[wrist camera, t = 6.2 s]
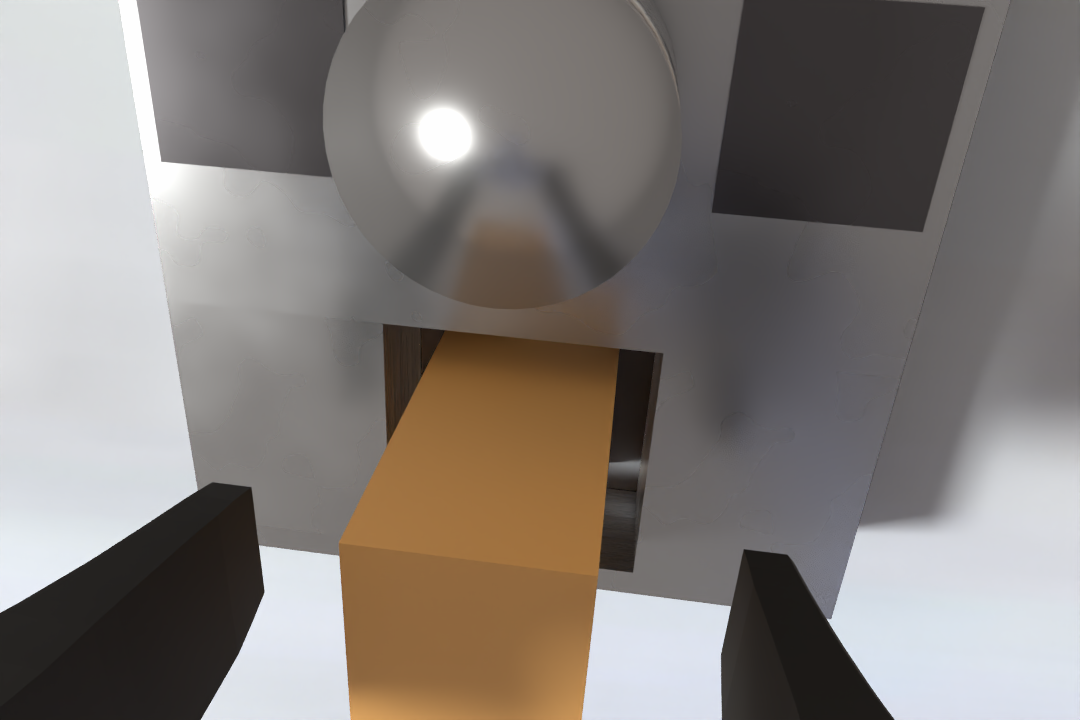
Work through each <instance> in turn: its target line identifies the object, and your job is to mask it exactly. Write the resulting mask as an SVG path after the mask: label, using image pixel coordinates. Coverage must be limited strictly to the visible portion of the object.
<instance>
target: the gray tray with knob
mask: <svg viewBox="0 0 1080 720" xmlns="http://www.w3.org/2000/svg"><path fill="white" fill-rule="evenodd" d="M1010 1H1011V0H119V7H120V13H121V19H122V25H123V31H124V37H125V43H126V50H127V56H128V62H129V68H130V74H131V80H132V87H133V93H134V99H135V105H136V111H137V117H138V124H139V130H140V136H141V142H142V148H143V154H144V161H145V167H146V173H147V179H148V185H149V191H150V198H151V204H152V210H153V216H154V222H155V228H156V234H157V241H158V247H159V253H160V259H161V265H162V271H163V278H164V284H165V290H166V296H167V302H168V308H169V315H170V321H171V327H172V333H173V339H174V345H175V352H176V358H177V364H178V370H179V376H180V382H181V389H182V395H183V401H184V407H185V413H186V419H187V426H188V432H189V438H190V444H191V450H192V456H193V462H194V469H195V475H196V481H197V487H198V490H200V489H202V488H203V487H205V486H207V485H208V484H210V483H212V482H216V483H224V484H231V485H239V486H247V487H252V495H253V503H254V511H255V519H256V527H257V535H258V543H259V545H261V546H269V547H277V548H284V549H292V550H300V551H308V552H315V553H323V554H331V555H339V541H340V539H341V537H342V535H343V533H344V531H345V529H346V527H347V525H348V523H349V521H350V519H351V517H352V515H353V513H354V511H355V509H356V507H357V505H358V503H359V501H360V499H361V497H362V495H363V493H364V491H365V489H366V487H367V485H368V483H369V481H370V479H371V477H372V475H373V473H374V471H375V469H376V467H377V465H378V463H379V461H380V459H381V457H382V455H383V453H384V451H385V449H386V447H387V445H388V443H389V441H390V439H391V437H392V435H393V433H394V431H395V429H396V427H397V425H398V423H399V421H400V419H401V417H402V415H403V413H404V411H405V409H406V407H407V405H408V403H409V401H410V399H411V397H412V395H413V393H414V391H415V389H416V387H417V385H418V383H419V381H420V379H421V328H429V329H439V330H448V331H458V332H467V333H476V334H486V335H495V336H505V337H514V338H524V339H533V340H542V341H552V342H561V343H571V344H580V345H590V346H599V347H608V348H618V349H627V350H637V351H646V352H655V358H654V366H653V373H652V381H651V388H650V396H649V403H648V411H647V418H646V425H645V433H644V440H643V448H642V455H641V463H640V470H639V478H638V485H637V492H633V491H625V490H617V489H608V488H606V497H605V508H604V518H603V529H602V540H601V550H600V561H599V572H598V581H597V589H602V590H610V591H618V592H625V593H633V594H641V595H649V596H656V597H664V598H672V599H680V600H687V601H695V602H703V603H711V604H718V605H726V606H732V601H733V597H734V592H735V587H736V583H737V578H738V573H739V568H740V564H741V559H742V554H743V550H744V549H747V550H755V551H763V552H771V553H779V554H787V555H788V556H789V557H790V558H791V559H792V561H793V562H794V563H795V565H796V567H797V569H798V571H799V573H800V574H801V576H802V578H803V580H804V582H805V583H806V585H807V587H808V589H809V590H810V592H811V594H812V596H813V597H814V599H815V601H816V602H817V604H818V606H819V608H820V609H821V611H822V613H823V614H824V616H825V617H826V618H827V619H831V618H832V614H833V611H834V607H835V604H836V601H837V597H838V594H839V590H840V587H841V583H842V580H843V576H844V573H845V570H846V566H847V563H848V559H849V556H850V552H851V549H852V545H853V542H854V539H855V535H856V532H857V528H858V525H859V521H860V518H861V515H862V511H863V508H864V504H865V501H866V497H867V494H868V490H869V487H870V484H871V480H872V477H873V473H874V470H875V466H876V463H877V459H878V456H879V453H880V449H881V446H882V442H883V439H884V435H885V432H886V428H887V425H888V422H889V418H890V415H891V411H892V408H893V404H894V401H895V397H896V394H897V391H898V387H899V384H900V380H901V377H902V373H903V370H904V366H905V363H906V360H907V356H908V353H909V349H910V346H911V342H912V339H913V335H914V332H915V329H916V325H917V322H918V318H919V315H920V311H921V308H922V304H923V301H924V298H925V294H926V291H927V287H928V284H929V280H930V277H931V273H932V270H933V267H934V263H935V260H936V256H937V253H938V249H939V246H940V243H941V239H942V236H943V232H944V229H945V225H946V222H947V218H948V215H949V212H950V208H951V205H952V201H953V198H954V194H955V191H956V187H957V184H958V181H959V177H960V174H961V170H962V167H963V163H964V160H965V156H966V153H967V150H968V146H969V143H970V139H971V136H972V132H973V129H974V125H975V122H976V119H977V115H978V112H979V108H980V105H981V101H982V98H983V94H984V91H985V88H986V84H987V81H988V77H989V74H990V70H991V67H992V63H993V60H994V57H995V53H996V50H997V46H998V43H999V39H1000V36H1001V32H1002V29H1003V26H1004V22H1005V19H1006V15H1007V12H1008V8H1009V5H1010Z"/></svg>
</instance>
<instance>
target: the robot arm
mask: <svg viewBox="0 0 1080 720" xmlns="http://www.w3.org/2000/svg"><path fill="white" fill-rule="evenodd" d="M263 595H264V584H263V576H262V568H261V560H260V552H259V543H258V535H257V527H256V519H255V511H254V503H253V495H252V487H247V486H239V485H231V484H224V483H216V482H212V483H210V484H208V485H207V486H205V487H203V488H202V489H200V490H198V491H197V492H195V493H194V494H192V495H190V496H189V497H187V498H186V499H184V500H183V501H181V502H180V503H178V504H177V505H175V506H174V507H172V508H170V509H169V510H167V511H166V512H164V513H163V514H161V515H160V516H158V517H157V518H155V519H154V520H152V521H151V522H149V523H148V524H146V525H145V526H143V527H142V528H140V529H139V530H137V531H136V532H134V533H132V534H131V535H129V536H128V537H126V538H125V539H123V540H122V541H120V542H118V543H117V544H115V545H114V546H112V547H111V548H109V549H108V550H106V551H104V552H103V553H101V554H100V555H98V556H97V557H95V558H94V559H92V560H90V561H89V562H87V563H86V564H84V565H82V566H80V567H79V568H77V569H75V570H74V571H72V572H70V573H69V574H67V575H65V576H63V577H62V578H60V579H58V580H57V581H55V582H53V583H52V584H50V585H48V586H47V587H45V588H43V589H41V590H40V591H38V592H36V593H35V594H33V595H31V596H30V597H28V598H26V599H25V600H23V601H21V602H19V603H18V604H16V605H14V606H12V607H10V608H8V609H7V610H5V611H3V612H1V613H0V720H201V718H202V716H203V715H204V713H205V711H206V709H207V708H208V706H209V704H210V703H211V701H212V699H213V697H214V696H215V694H216V692H217V691H218V689H219V687H220V685H221V684H222V682H223V680H224V678H225V677H226V675H227V673H228V672H229V670H230V668H231V666H232V664H233V663H234V661H235V659H236V657H237V656H238V654H239V652H240V649H241V647H242V645H243V642H244V640H245V638H246V636H247V633H248V631H249V629H250V627H251V624H252V622H253V619H254V617H255V614H256V612H257V609H258V607H259V604H260V602H261V599H262V597H263ZM721 693H722V720H894V718H893V717H892V716H891V714H890V713H889V712H888V710H887V709H886V708H885V706H884V705H883V704H882V702H881V701H880V699H879V698H878V697H877V695H876V694H875V692H874V691H873V689H872V688H871V687H870V685H869V684H868V682H867V681H866V679H865V678H864V676H863V675H862V673H861V672H860V670H859V669H858V667H857V666H856V664H855V663H854V661H853V660H852V658H851V657H850V655H849V654H848V652H847V651H846V649H845V648H844V646H843V645H842V643H841V642H840V640H839V639H838V637H837V635H836V634H835V632H834V631H833V629H832V627H831V626H830V624H829V622H828V621H827V619H826V617H825V616H824V614H823V613H822V611H821V609H820V608H819V606H818V604H817V602H816V601H815V599H814V597H813V596H812V594H811V592H810V590H809V589H808V587H807V585H806V583H805V582H804V580H803V578H802V576H801V574H800V573H799V571H798V569H797V567H796V565H795V563H794V562H793V561H792V559H791V558H790V557H789V556H788V555H787V554H779V553H771V552H763V551H755V550H747V549H744V550H743V554H742V559H741V564H740V568H739V573H738V578H737V583H736V587H735V592H734V597H733V601H732V606H731V611H730V615H729V620H728V625H727V629H726V634H725V639H724V644H723V648H722V653H721Z"/></svg>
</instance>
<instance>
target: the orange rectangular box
mask: <svg viewBox="0 0 1080 720" xmlns="http://www.w3.org/2000/svg"><path fill="white" fill-rule="evenodd" d="M618 359H619V349H618V348H608V347H599V346H590V345H580V344H571V343H561V342H552V341H542V340H533V339H524V338H514V337H505V336H495V335H486V334H476V333H467V332H458V331H448V330H445V331H444V333H443V335H442V337H441V339H440V341H439V343H438V345H437V347H436V349H435V351H434V353H433V355H432V357H431V359H430V361H429V363H428V365H427V367H426V369H425V371H424V373H423V375H422V377H421V379H420V381H419V383H418V385H417V387H416V389H415V391H414V393H413V395H412V397H411V399H410V401H409V403H408V405H407V407H406V409H405V411H404V413H403V415H402V417H401V419H400V421H399V423H398V425H397V427H396V429H395V431H394V433H393V435H392V437H391V439H390V441H389V443H388V445H387V447H386V449H385V451H384V453H383V455H382V457H381V459H380V461H379V463H378V465H377V467H376V469H375V471H374V473H373V475H372V477H371V479H370V481H369V483H368V485H367V487H366V489H365V491H364V493H363V495H362V497H361V499H360V501H359V503H358V505H357V507H356V509H355V511H354V513H353V515H352V517H351V519H350V521H349V523H348V525H347V527H346V529H345V531H344V533H343V535H342V537H341V539H340V541H339V556H340V571H341V585H342V600H343V614H344V629H345V644H346V658H347V673H348V687H349V702H350V716H351V720H581V719H582V711H583V702H584V693H585V685H586V676H587V667H588V659H589V650H590V642H591V633H592V624H593V616H594V607H595V598H596V590H597V581H598V572H599V561H600V550H601V540H602V529H603V518H604V508H605V497H606V487H607V476H608V465H609V455H610V444H611V433H612V423H613V412H614V401H615V391H616V380H617V370H618Z"/></svg>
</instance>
